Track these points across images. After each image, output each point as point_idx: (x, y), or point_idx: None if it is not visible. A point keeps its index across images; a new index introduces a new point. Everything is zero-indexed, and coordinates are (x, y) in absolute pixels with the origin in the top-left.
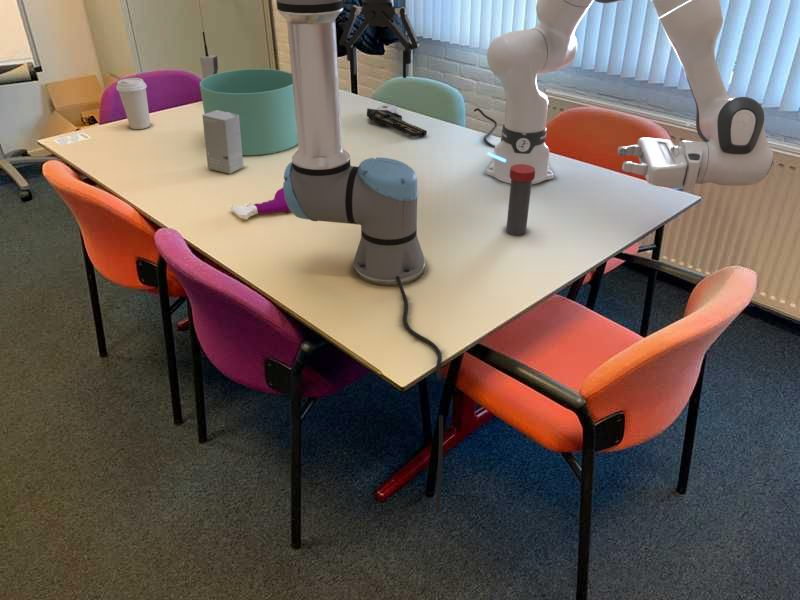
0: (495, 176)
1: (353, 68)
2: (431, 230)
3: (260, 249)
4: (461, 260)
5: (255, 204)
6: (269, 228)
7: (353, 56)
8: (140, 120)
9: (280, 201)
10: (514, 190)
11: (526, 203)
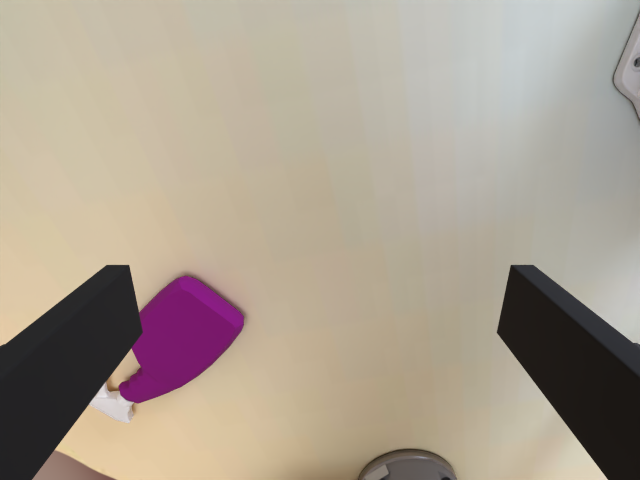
0: (637, 107)
1: (115, 365)
2: (461, 383)
3: (206, 472)
4: (509, 452)
5: (122, 395)
6: (185, 421)
7: (56, 446)
8: None
9: (163, 383)
10: None
11: None
